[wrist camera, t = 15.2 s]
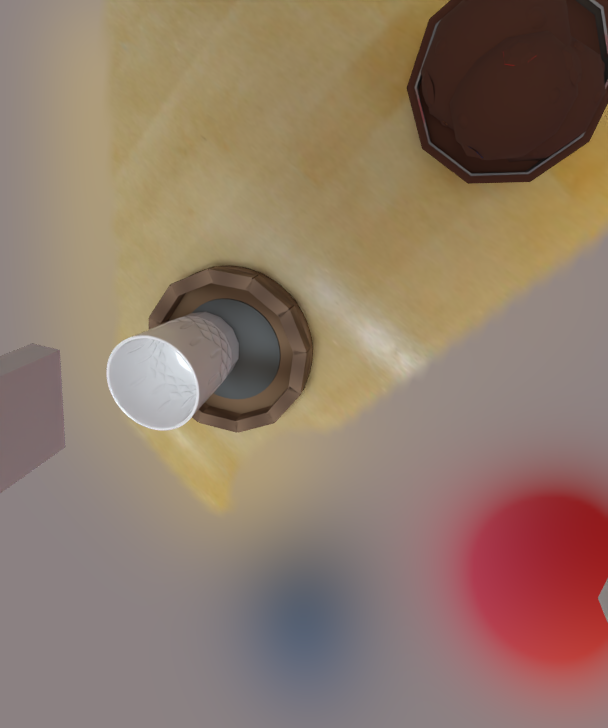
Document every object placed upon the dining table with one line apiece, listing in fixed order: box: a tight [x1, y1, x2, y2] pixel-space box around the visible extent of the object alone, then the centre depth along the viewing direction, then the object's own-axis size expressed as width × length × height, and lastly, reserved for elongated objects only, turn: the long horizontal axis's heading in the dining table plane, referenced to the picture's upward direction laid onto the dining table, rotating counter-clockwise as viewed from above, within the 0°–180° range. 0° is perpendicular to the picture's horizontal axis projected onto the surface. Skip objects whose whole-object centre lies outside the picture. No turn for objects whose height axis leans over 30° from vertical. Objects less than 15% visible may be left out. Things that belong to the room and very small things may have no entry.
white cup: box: [107, 312, 239, 430], centre depth 42 cm, size 8×8×10 cm
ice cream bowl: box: [407, 0, 608, 183], centre depth 29 cm, size 11×11×15 cm
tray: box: [149, 266, 313, 432], centre depth 46 cm, size 16×16×3 cm
